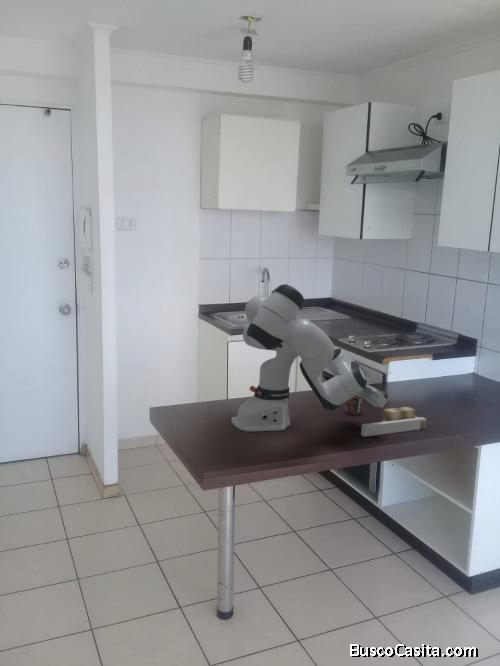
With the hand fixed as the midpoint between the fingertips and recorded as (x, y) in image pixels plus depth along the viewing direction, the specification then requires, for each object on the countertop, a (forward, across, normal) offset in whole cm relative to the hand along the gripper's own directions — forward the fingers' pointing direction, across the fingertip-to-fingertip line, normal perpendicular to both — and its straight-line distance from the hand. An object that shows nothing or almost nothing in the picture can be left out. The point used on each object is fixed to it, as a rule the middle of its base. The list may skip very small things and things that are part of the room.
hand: (375, 404), depth 228 cm
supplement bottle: (+9, +17, +5) cm, 20 cm away
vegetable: (+24, +30, -9) cm, 39 cm away
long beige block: (+14, -2, -1) cm, 14 cm away
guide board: (+10, -1, +3) cm, 11 cm away
